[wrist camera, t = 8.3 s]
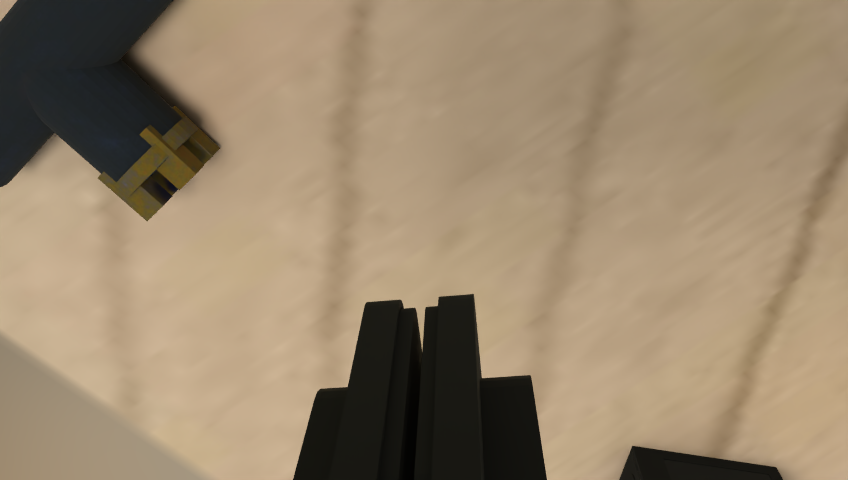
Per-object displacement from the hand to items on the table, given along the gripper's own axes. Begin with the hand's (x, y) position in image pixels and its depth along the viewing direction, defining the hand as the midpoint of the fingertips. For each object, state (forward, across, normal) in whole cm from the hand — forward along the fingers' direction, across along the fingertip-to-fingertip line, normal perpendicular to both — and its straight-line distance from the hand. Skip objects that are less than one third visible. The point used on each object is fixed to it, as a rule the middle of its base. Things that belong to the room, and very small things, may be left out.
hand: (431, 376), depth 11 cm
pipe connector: (+29, +18, +2) cm, 35 cm away
